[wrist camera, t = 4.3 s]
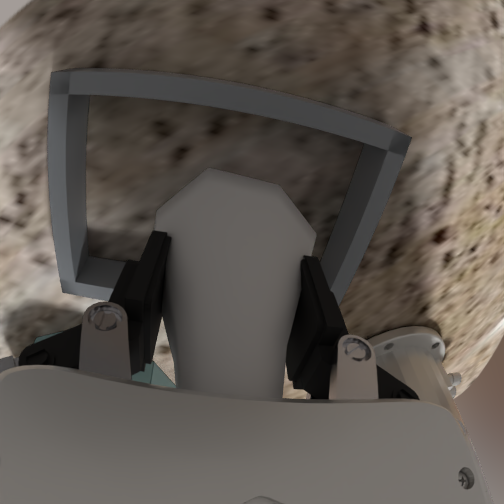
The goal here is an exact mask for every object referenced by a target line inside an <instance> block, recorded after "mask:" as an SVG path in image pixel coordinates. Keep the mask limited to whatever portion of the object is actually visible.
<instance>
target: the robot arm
mask: <svg viewBox="0 0 504 504" xmlns="http://www.w3.org/2000/svg"><path fill="white" fill-rule="evenodd" d="M171 238H172V237H169V236H167V232H162V231H156V230H153V231H152V234H151V236H150V238H149V240H148V243H147V245H146V247H145V250H144V252H143V254H142V257H141V259H140V261H133V260H127V262H126V263H125V265H124V268H123V270H122V272H121V274H120V276H119V278H118V281H117V283H116V285H115V287H114V289H113V292H112V294H111V296H110V299H109V301H108V302H98V303H95V304H93V305H91V306H90V307H88V308H87V310H86V311H85V312H84V315H83V321H82V324H81V325H78V326H76V327H73V328H71V329H68V330H66V331H63V332H61V333H58V334H56V335H54V336H51V337H49V338H46V339H44V340H41V341H39V342H36V343H34V344H31V345H30V346H28V347H26V348H25V349H24V350H23V351H22V352H21V354H20V356H19V357H18V358H15V359H14V358H13V356H9V357H5V358H1V359H0V504H494V503H493V500H492V497H491V494H490V491H489V488H488V485H487V482H486V479H485V476H484V473H483V471H482V468H481V465H480V462H479V459H478V457H477V454H476V452H475V449H474V447H473V444H472V441H471V439H470V437H469V434H468V432H467V429H466V427H465V425H464V422H463V420H462V418H461V415H460V413H459V411H458V408H457V406H456V404H455V402H454V400H453V398H454V397H455V395H456V388H455V386H456V385H458V384H460V382H461V375H460V373H457V372H456V373H449V374H447V373H446V371H445V369H444V367H443V365H442V363H441V362H442V360H443V358H444V355H445V344H444V342H443V340H442V338H441V336H440V335H439V334H438V332H437V331H435V330H433V329H432V328H428V327H424V326H410V327H403V328H398V329H395V330H391V331H387V332H385V333H382V334H380V335H377V336H374V337H372V338H370V339H368V340H365V339H363V338H362V337H359V336H357V335H349V334H348V331H347V328H346V326H345V323H344V320H343V317H342V314H341V312H340V309H339V306H338V303H337V301H336V298H335V295H334V293H333V292H332V291H330V289H329V286H328V283H327V281H326V278H325V275H324V272H323V270H322V267H321V265H320V262H319V259H318V258H317V257H312V256H306V255H304V258H305V259H302V260H301V287H302V289H301V293H300V297H299V301H298V305H297V309H296V313H295V317H294V321H293V325H292V329H291V332H290V336H289V340H288V344H287V350H286V367H287V374H288V379H289V381H293V388H294V389H304V390H305V391H306V392H308V393H307V396H306V399H287V398H268V397H253V396H241V395H230V394H220V393H211V392H203V391H195V390H187V389H180V388H173V387H167V386H161V385H155V384H149V383H143V382H138V381H133V380H132V375H134V374H136V373H138V372H140V371H142V372H144V371H145V366H146V364H151V363H152V359H153V355H154V350H155V345H156V341H157V336H158V332H159V327H160V323H161V319H162V299H163V288H164V277H165V268H166V261H167V256H168V252H169V247H170V242H171Z"/></svg>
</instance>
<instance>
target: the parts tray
mask: <svg viewBox="0 0 504 504" xmlns="http://www.w3.org/2000/svg"><path fill="white" fill-rule="evenodd" d="M90 95H106V96H123V97H136V98H147V99H157V100H166V101H175V102H183V103H190V104H197V105H204V106H210V107H216V108H222V109H228V110H234V111H239V112H244V113H249V114H254V115H259V116H264V117H269V118H273V119H278V120H282V121H287V122H291V123H295V124H299V125H303V126H307V127H311V128H315V129H318V130H322V131H326V132H329V133H333V134H336V135H340V136H343V137H347V138H350V139H353V140H357V141H360V142H363V143H364V146H363V149H362V152H361V155H360V158H359V161H358V164H357V166H356V169H355V172H354V175H353V178H352V181H351V183H350V186H349V189H348V192H347V194H346V197H345V200H344V202H343V205H342V208H341V210H340V213H339V216H338V218H337V221H336V223H335V226H334V229H333V231H332V234H331V236H330V239H329V241H328V244H327V246H326V249H325V251H324V254H323V256H322V259H321V261H320V265H321V267H322V270H323V272H324V275H325V278H326V281H327V283H328V286H329V289H330V291H332V292H333V293H334V295H335V298H336V301H337V303H338V306H339V305H340V303H341V301H342V299H343V297H344V295H345V293H346V291H347V289H348V287H349V285H350V283H351V281H352V279H353V277H354V275H355V273H356V271H357V268H358V266H359V264H360V262H361V260H362V258H363V256H364V254H365V252H366V249H367V247H368V245H369V243H370V241H371V238H372V236H373V234H374V232H375V229H376V227H377V225H378V223H379V220H380V218H381V216H382V213H383V211H384V209H385V206H386V204H387V201H388V199H389V197H390V194H391V192H392V189H393V187H394V184H395V182H396V179H397V177H398V174H399V171H400V169H401V166H402V164H403V161H404V158H405V156H406V153H407V150H408V147H409V145H410V142H411V139H412V137H410V136H409V135H407V134H405V133H403V132H401V131H399V130H398V129H396V128H394V127H392V126H390V125H388V124H385V123H383V122H380V121H377V120H374V119H371V118H369V117H366V116H363V115H360V114H357V113H354V112H351V111H348V110H345V109H342V108H338V107H335V106H332V105H328V104H325V103H322V102H318V101H315V100H311V99H307V98H304V97H300V96H296V95H292V94H288V93H284V92H280V91H276V90H271V89H267V88H262V87H257V86H253V85H248V84H243V83H237V82H232V81H226V80H220V79H214V78H208V77H201V76H194V75H186V74H178V73H169V72H159V71H148V70H133V69H113V68H73V69H66V70H61V71H55V72H51V81H50V92H49V108H48V181H49V198H50V210H51V220H52V229H53V238H54V245H55V252H56V259H57V265H58V271H59V277H60V282H61V287H62V292H63V293H68V294H73V295H78V296H83V297H88V298H94V299H99V300H105V301H109V299H110V296H111V294H112V292H113V289H114V287H115V285H116V283H117V281H118V278H119V276H120V274H121V272H122V270H123V268H124V265H125V263H126V262H122V261H116V260H109V259H103V258H97V257H91V256H89V251H88V238H87V219H86V141H87V124H88V110H89V99H90Z"/></svg>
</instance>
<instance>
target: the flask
mask: <svg viewBox="0 0 504 504" xmlns="http://www.w3.org/2000/svg"><path fill="white" fill-rule="evenodd" d="M154 230H156V231H162V232H167V236H169V237H172V238H171V242H170V247H169V252H168V256H167V261H166V268H165V277H164V288H163V299H162V317H163V321H164V325H165V329H166V333H167V337H168V341H169V345H170V349H171V353H172V357H173V360H174V370H175V383H176V388H180V389H187V390H195V391H203V392H211V393H220V394H230V395H241V396H253V397H268V398H282V396H283V385H284V374H285V362H286V350H287V344H288V340H289V336H290V332H291V329H292V325H293V321H294V317H295V313H296V309H297V305H298V301H299V297H300V293H301V289H302V287H301V260H302V259H305V258H304V255H306V256H311V255H312V251H313V248H314V244H315V239H316V235H317V234H316V233H315V231H314V230H313V229H312V227H311V226H310V225H309V223H308V222H307V221H306V219H305V218H304V217H303V215H302V214H301V213H300V211H299V210H298V209H297V207H296V206H295V205H294V203H293V202H292V201H291V199H290V198H289V197H288V196H287V194H286V193H285V192H284V190H283V189H282V188H281V187H280V185H278V184H274V183H270V182H266V181H262V180H258V179H254V178H250V177H246V176H242V175H238V174H234V173H230V172H225V171H221V170H217V169H212V168H207V169H206V170H205V171H204V172H202V173H201V174H200V175H199V176H197V177H196V178H195V179H194V180H192V181H191V182H190V183H189V184H187V185H186V186H185V187H184V188H183V189H181V190H180V191H179V192H178V193H177V194H175V195H174V196H173V197H172V198H171V199H169V200H168V201H167V202H166V203H165V204H164V205H162V206H161V207H160V208H159V209H158V210H157V212H156V219H155V226H154Z"/></svg>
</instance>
